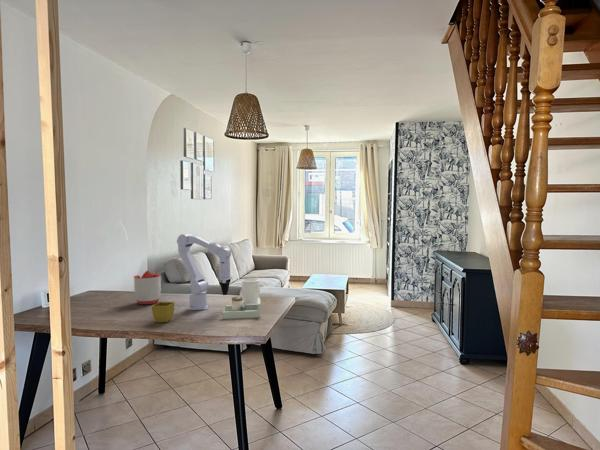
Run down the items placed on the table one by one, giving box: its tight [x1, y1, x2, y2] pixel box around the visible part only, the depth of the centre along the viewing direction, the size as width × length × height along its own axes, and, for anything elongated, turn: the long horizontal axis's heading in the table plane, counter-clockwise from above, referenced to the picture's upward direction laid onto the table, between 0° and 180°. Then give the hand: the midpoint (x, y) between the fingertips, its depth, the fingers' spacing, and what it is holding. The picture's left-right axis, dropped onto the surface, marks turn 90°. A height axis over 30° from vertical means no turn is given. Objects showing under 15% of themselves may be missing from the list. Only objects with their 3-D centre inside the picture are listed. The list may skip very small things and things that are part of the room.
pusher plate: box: [242, 301, 246, 311], centre depth 215 cm, size 2×11×5 cm, turn 5°
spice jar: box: [231, 296, 244, 311], centre depth 214 cm, size 6×6×9 cm
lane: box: [222, 297, 262, 320], centre depth 215 cm, size 20×15×7 cm
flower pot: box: [150, 301, 175, 323], centre depth 204 cm, size 9×9×9 cm
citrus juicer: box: [133, 270, 162, 305], centre depth 245 cm, size 16×17×20 cm
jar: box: [241, 278, 261, 304], centre depth 236 cm, size 11×10×15 cm
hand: (225, 293), depth 224 cm, fingers open, 7 cm apart
